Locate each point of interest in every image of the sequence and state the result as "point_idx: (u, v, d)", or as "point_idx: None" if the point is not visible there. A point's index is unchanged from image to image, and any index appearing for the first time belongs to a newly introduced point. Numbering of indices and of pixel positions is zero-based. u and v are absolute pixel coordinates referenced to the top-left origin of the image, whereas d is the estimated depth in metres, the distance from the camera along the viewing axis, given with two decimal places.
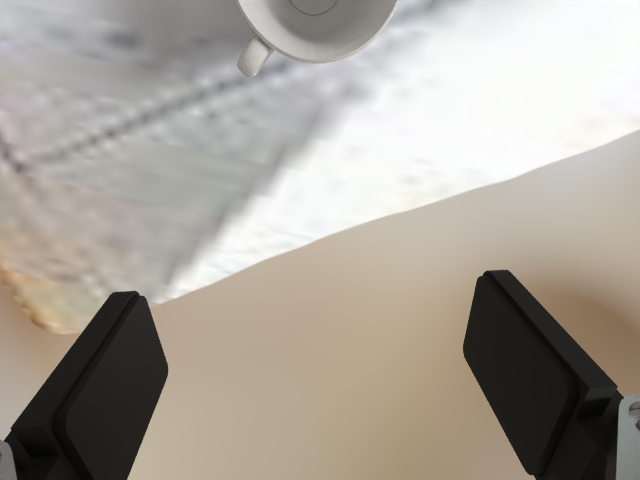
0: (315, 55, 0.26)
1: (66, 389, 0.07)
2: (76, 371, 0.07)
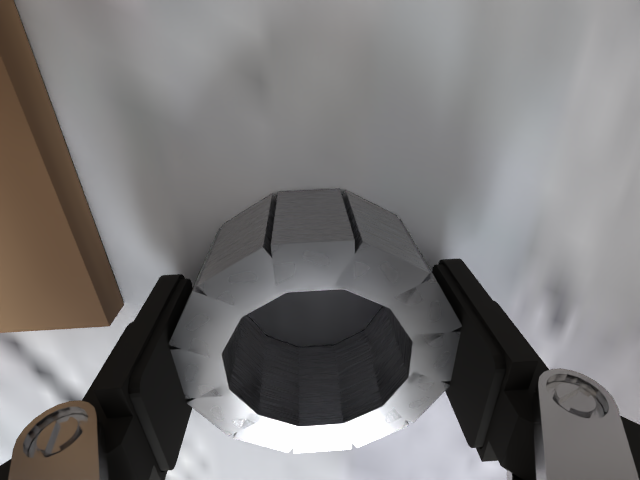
0: None
1: (136, 357, 0.07)
2: (142, 343, 0.08)
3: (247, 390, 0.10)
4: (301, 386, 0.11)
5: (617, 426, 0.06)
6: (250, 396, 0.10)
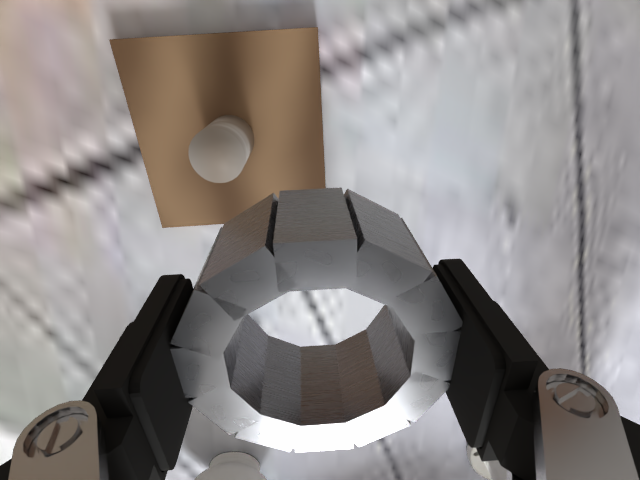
0: None
1: (137, 357, 0.07)
2: (142, 343, 0.08)
3: (249, 389, 0.10)
4: (302, 386, 0.11)
5: (616, 426, 0.06)
6: (252, 395, 0.10)
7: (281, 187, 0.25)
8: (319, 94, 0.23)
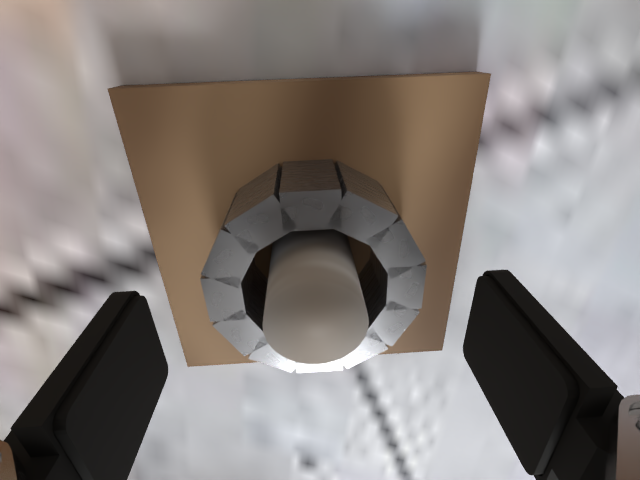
0: None
1: (66, 389, 0.07)
2: (76, 371, 0.07)
3: (259, 318, 0.12)
4: None
5: None
6: (262, 323, 0.12)
7: None
8: (469, 182, 0.13)
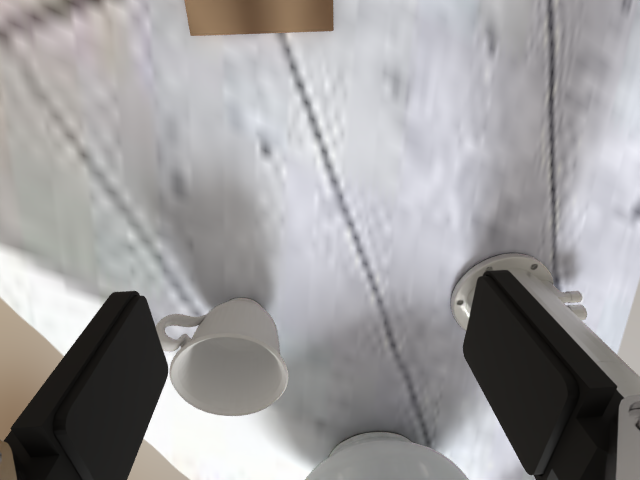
0: (176, 378, 0.37)
1: (66, 389, 0.07)
2: (76, 371, 0.07)
3: None
4: None
5: None
6: None
7: None
8: None
